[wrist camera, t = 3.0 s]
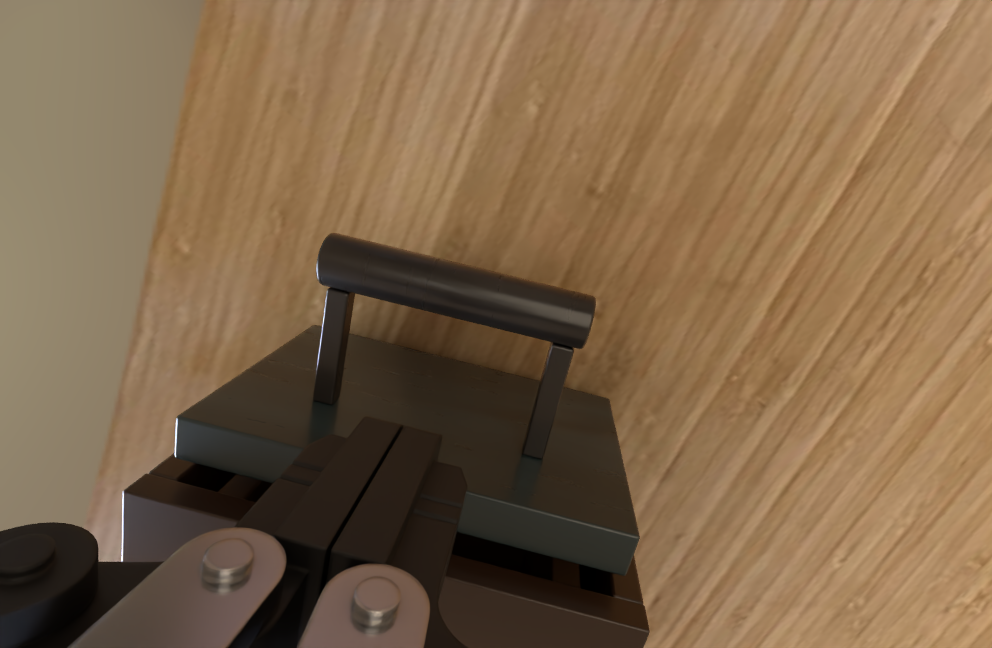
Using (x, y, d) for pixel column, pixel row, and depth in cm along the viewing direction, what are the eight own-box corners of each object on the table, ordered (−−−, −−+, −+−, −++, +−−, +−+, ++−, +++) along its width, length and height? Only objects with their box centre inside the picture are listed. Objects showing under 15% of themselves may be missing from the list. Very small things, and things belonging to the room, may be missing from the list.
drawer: (329, 198, 19) (183, 223, 12) (648, 276, 19) (710, 352, 11) (278, 601, 24) (157, 792, 17) (524, 668, 24) (509, 894, 17)
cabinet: (304, 353, 22) (121, 491, 13) (610, 430, 21) (650, 632, 12) (270, 628, 26) (116, 878, 17) (523, 698, 26) (505, 993, 17)
